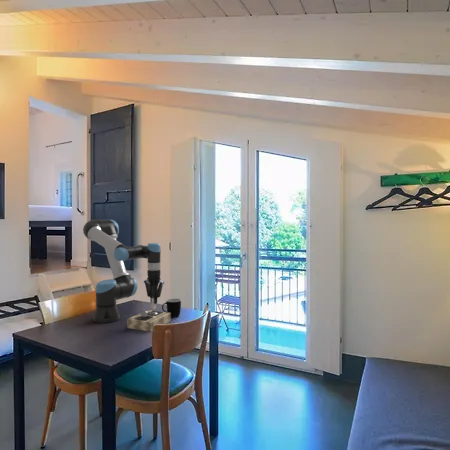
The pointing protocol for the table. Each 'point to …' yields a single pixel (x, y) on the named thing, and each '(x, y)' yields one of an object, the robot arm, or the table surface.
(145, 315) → the peg near
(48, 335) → the table surface
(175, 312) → the mug
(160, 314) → the socket block
